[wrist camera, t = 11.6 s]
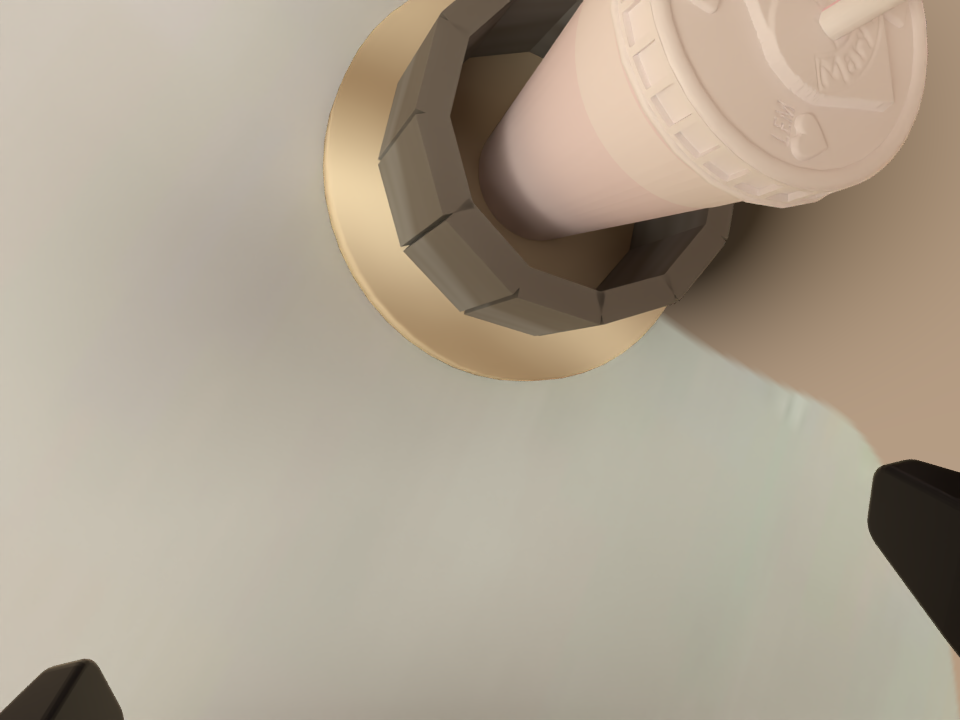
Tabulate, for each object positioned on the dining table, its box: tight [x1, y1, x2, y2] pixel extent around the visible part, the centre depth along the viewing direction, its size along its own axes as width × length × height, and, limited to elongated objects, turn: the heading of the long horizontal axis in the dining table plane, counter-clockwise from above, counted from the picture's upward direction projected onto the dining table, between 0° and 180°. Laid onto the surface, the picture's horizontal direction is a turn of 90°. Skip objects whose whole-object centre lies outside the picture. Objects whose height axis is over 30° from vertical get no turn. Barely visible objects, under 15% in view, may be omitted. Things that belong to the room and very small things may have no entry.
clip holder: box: [323, 0, 734, 381], centre depth 19 cm, size 12×12×4 cm
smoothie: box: [478, 0, 928, 241], centre depth 13 cm, size 6×6×14 cm
